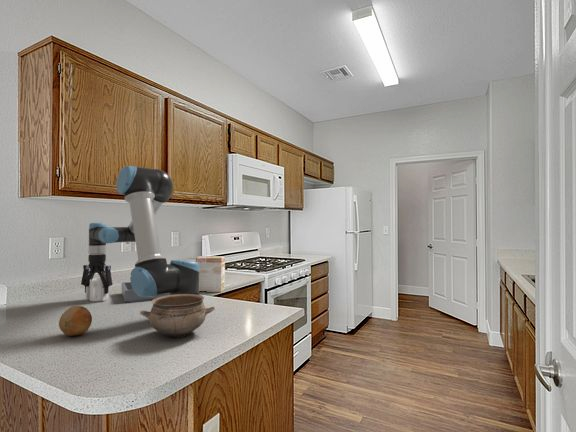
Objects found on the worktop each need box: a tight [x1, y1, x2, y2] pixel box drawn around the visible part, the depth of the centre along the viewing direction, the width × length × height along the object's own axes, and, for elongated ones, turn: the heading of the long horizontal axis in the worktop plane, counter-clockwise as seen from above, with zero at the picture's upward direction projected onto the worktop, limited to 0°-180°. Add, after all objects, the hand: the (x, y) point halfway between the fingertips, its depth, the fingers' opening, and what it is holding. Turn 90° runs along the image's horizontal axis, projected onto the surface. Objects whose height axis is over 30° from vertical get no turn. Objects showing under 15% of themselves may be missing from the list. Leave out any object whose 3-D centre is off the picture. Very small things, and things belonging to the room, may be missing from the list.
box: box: [121, 281, 170, 304], centre depth 180 cm, size 24×24×6 cm
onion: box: [58, 305, 93, 337], centre depth 117 cm, size 10×10×10 cm
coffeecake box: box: [195, 255, 226, 293], centre depth 193 cm, size 15×7×20 cm, turn 84°
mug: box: [89, 277, 110, 303], centre depth 168 cm, size 12×8×10 cm
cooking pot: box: [139, 294, 215, 338], centre depth 119 cm, size 25×19×12 cm
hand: (96, 299), depth 168 cm, fingers closed on mug, 8 cm apart
